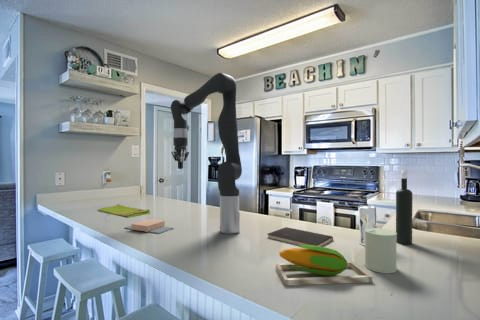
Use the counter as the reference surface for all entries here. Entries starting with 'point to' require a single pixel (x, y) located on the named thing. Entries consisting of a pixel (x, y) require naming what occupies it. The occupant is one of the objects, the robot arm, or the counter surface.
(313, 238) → the hardcover book
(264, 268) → the counter surface
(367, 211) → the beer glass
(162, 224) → the tile
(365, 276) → the corn rest
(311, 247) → the corn
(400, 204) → the wine bottle
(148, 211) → the dish towel
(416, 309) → the counter surface
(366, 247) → the can
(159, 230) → the mat
